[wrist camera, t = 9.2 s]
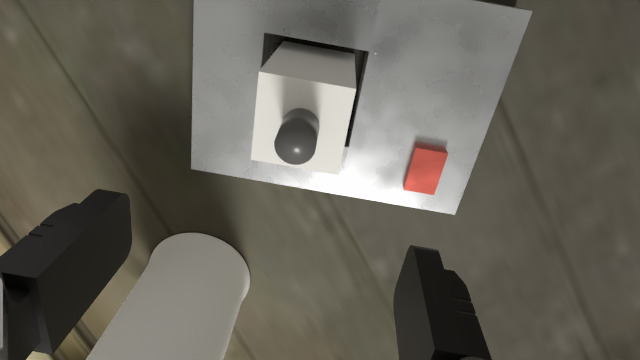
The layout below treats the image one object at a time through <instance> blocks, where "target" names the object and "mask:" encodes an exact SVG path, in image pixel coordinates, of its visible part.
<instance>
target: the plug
mask: <svg viewBox="0 0 640 360" xmlns="http://www.w3.org/2000/svg"><path fill="white" fill-rule="evenodd" d="M355 93H356V75H355V56H354V54H353V53H348V52H342V51H337V50H331V49H326V48H320V47H315V46H309V45H303V44H298V43H292V42H287V41H283V42H282V43H281V45H280V46H279V47H278V48H277V50H276V51H275V52H274V53H273V55H272V56H271V57H270V58H269V60H268V61H267V62H266V63H265V64H264V66H263V67H262V68H261V69H260V71H259V75H258V86H257V97H256V107H255V118H254V129H253V140H252V151H251V160H255V161H261V162H267V163H273V164H278V165H284V166H290V167H295V168H301V169H307V170H313V171H318V172H324V173H330V174H336V175H338V174H339V169H340V164H341V160H342V155H343V150H344V145H345V140H346V136H347V131H348V126H349V121H350V117H351V112H352V107H353V102H354V97H355Z"/></svg>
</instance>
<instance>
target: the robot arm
mask: <svg viewBox="0 0 640 360" xmlns="http://www.w3.org/2000/svg"><path fill="white" fill-rule="evenodd" d="M131 244H132V231H131V216H130V201H129V197H128V195H127V194H124V193H119V192H113V191H107V190H102V189H97V190H95V191H94V192H92V193H91V194H90V195H89V196H88V197H87V198H86V199H84V200H83V201H82V202H81V203H80V204H77V203H73V204H71V205H69V206H66V207H64V208H62V209H60V210H57V211H55V212H54V213H52V214H51V215H50V216H49V217H48V218H46V219H45V220H44V221H43V222H42V223H41V224H40V226H37V227H36V228H34V229H33V230H32V231H31V232H29V235H28V236H25V237H23V238H22V239H21V240H20V241H19V242H17V243H16V244H15V245H14V246H13V247H11V248H10V249H9V250H8V251H7V252H5V253H4V254H3V255H2V256H0V360H26V359H27V357H28V356H29V355H30V354H31V353H32V351H35V352H41V353H47V354H52V355H53V353H54V352H55V351H56V349H57V348H58V347H59V346H60V344H61V343H62V342H63V340H64V339H65V338H66V336H67V335H68V334H69V333H70V331H71V330H72V329H73V327H74V326H75V325H76V324H77V322H78V321H79V320H80V318H81V317H82V316H83V314H84V313H85V312H86V311H87V309H88V308H89V307H90V305H91V304H92V303H93V302H94V300H95V299H96V298H97V296H98V295H99V294H100V292H101V291H102V290H103V289H104V287H105V286H106V285H107V283H108V282H109V281H110V280H111V278H112V277H113V276H114V274H115V273H116V272H117V270H118V269H119V268H120V267H121V265H122V264H123V263H124V261H125V260H126V258H127V257H128V254H129V252H130V249H131ZM394 316H395V325H396V334H397V343H398V352H399V360H492V359H491V356H490V353H489V350H488V347H487V344H486V342H485V339H484V336H483V333H482V330H481V327H480V324H479V321H478V318H477V316H475V310H474V307H473V304H472V303H471V298H470V295H469V292H468V289H467V287H466V285H465V283H464V282H463V281H462V280H461V279H460V277H459V276H458V275H457V274H456V273H455V271H451V270H445V269H444V267H443V264H442V261H441V257H440V254H439V251H438V250H435V249H430V248H424V247H418V246H413V245H411V246H410V247H409V249H408V251H407V254H406V257H405V260H404V263H403V266H402V269H401V272H400V275H399V278H398V281H397V285H396V288H395V293H394Z"/></svg>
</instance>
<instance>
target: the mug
mask: <svg viewBox="0 0 640 360" xmlns="http://www.w3.org/2000/svg"><path fill="white" fill-rule="evenodd" d="M249 285H250V274H249V270H248V267H247V265H246V263H245V261H244V259H243V258H242V256H241V255H240V254H239V253H238V252H237V251H236V250H235V249H234V248H233V247H232V246H230V245H229V244H227V243H226V242H224V241H222V240H220V239H218V238H216V237H213V236H210V235H206V234H201V233H181V234H176V235H173V236H171V237H168V238H167V239H165V240H163V241H162V242H161V243H160V244H158V246H157V247H156V248H155V249H154V251H153V253H152V255H151V257H150V261H149V263H148V265H147V267H146V268H145V270H144V272H143V273H142V275H141V276H140V278H139V279H138V281H137V282H136V284H135V285H134V287H133V288H132V290H131V291H130V293H129V295H128V296H127V298H126V299H125V301H124V302H123V304H122V305H121V307H120V308H119V310H118V311H117V313H116V314H115V316H114V317H113V319H112V320H111V322H110V323H109V325H108V326H107V328H106V330H105V331H104V333H103V334H102V336H101V337H100V339H99V340H98V342H97V343H96V345H95V346H94V348H93V349H92V351H91V352H90V354H89V355H88V357H87V358H86V360H223V359H224V356H225V353H226V349H227V346H228V343H229V340H230V337H231V333H232V330H233V327H234V324H235V321H236V318H237V314H238V311H239V308H240V305H241V302H242V300H243V299H244V297H245V296H246V294H247V292H248V289H249Z"/></svg>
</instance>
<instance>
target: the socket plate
mask: <svg viewBox="0 0 640 360" xmlns="http://www.w3.org/2000/svg"><path fill="white" fill-rule="evenodd" d="M531 14H532V11H530V10H526V9H523V8H519V7H515V6H510V5H505V4H499V3H494V2H488V1H483V0H194V22H193V85H192V147H191V169H194V170H200V171H206V172H212V173H217V174H223V175H229V176H235V177H240V178H246V179H252V180H258V181H264V182H269V183H275V184H281V185H287V186H292V187H298V188H304V189H310V190H315V191H321V192H327V193H333V194H338V195H344V196H350V197H356V198H362V199H367V200H373V201H379V202H385V203H390V204H396V205H402V206H408V207H413V208H419V209H425V210H431V211H436V212H442V213H448V214H454V215H455V213H456V210H457V208H458V205H459V203H460V200H461V197H462V195H463V192H464V190H465V187H466V184H467V182H468V179H469V176H470V174H471V171H472V169H473V166H474V163H475V161H476V158H477V156H478V153H479V150H480V148H481V145H482V142H483V140H484V137H485V135H486V132H487V129H488V127H489V124H490V121H491V119H492V116H493V114H494V111H495V108H496V106H497V103H498V101H499V98H500V95H501V93H502V90H503V87H504V85H505V82H506V80H507V77H508V74H509V72H510V69H511V66H512V64H513V61H514V59H515V56H516V53H517V51H518V48H519V46H520V43H521V40H522V38H523V35H524V32H525V30H526V27H527V25H528V22H529V19H530V17H531ZM271 34H276V35H281V36H287V37H293V38H298V39H304V40H309V41H315V42H320V43H326V44H331V45H337V46H342V47H348V48H353V49H359V50H364V51H366V54H365V58H364V63H363V68H362V73H361V77H360V82H359V87H358V91H357V96H356V101H355V106H354V110H353V115H352V120H351V125H350V129H349V133H347V136H346V140H345V145H344V150H343V155H342V160H341V164H340V169H339V174H338V175H336V174H330V173H324V172H318V171H313V170H307V169H301V168H295V167H290V166H284V165H278V164H273V163H267V162H261V161H255V160H251V151H252V140H253V129H254V118H255V107H256V97H257V86H258V75H259V71H260V69H261V68H262V67H263V66H264V64H265V63H266V62H267V61H268V57H269V47H270V37H271Z"/></svg>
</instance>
